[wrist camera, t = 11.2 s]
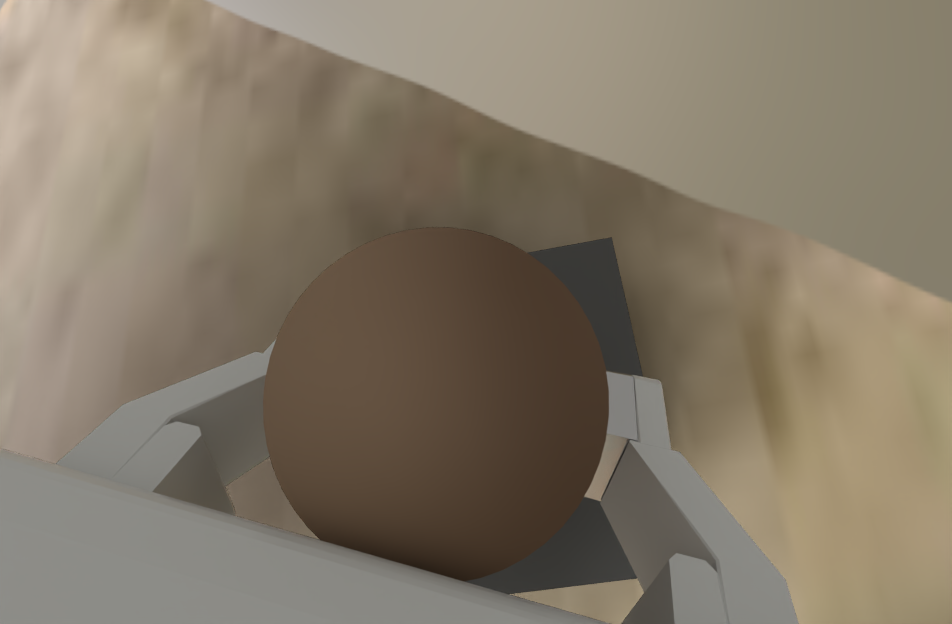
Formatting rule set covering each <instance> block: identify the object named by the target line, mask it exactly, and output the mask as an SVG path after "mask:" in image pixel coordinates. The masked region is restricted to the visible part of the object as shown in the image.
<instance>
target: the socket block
mask: <svg viewBox="0 0 952 624" xmlns="http://www.w3.org/2000/svg"><path fill="white" fill-rule="evenodd" d="M528 254H530V255H531V256H532V257H534V258H535V259H536V260H538V261H539V262H540V263H542V264H543V265H544V266H546V267H547V268H548V269H549V270H550V271H551V272H552V273H553V274H554V275H555V276H556V277H557V278H558V279H559V280H560V281H561V282H562V283H563V284H564V285H565V286H566V287H567V288H568V290H569V291H570V292H571V294H572V295H573V296H574V297H575V299H576V300H577V301H578V303H579V304H580V306H581V308H582V309H583V311H584V313H585V315H586V316H587V318H588V320H589V321H590V323H591V326H592V328H593V330H594V333H595V335H596V337H597V340H598V342H599V345H600V349H601V352H602V356H603V359H604V363H605V367H606V370H610V371H615V372H620V373H625V374H629V375H637V376H642V377H643V375H642V370H641V366H640V362H639V357H638V353H637V348H636V344H635V339H634V335H633V330H632V326H631V322H630V317H629V313H628V308H627V304H626V299H625V295H624V291H623V286H622V282H621V277H620V273H619V268H618V264H617V259H616V255H615V251H614V246H613V242H612V237H611V238H606V239H600V240H595V241H589V242H584V243H578V244H573V245H567V246H562V247H556V248H551V249H546V250H540V251H535V252H529V253H528ZM600 503H601V501H598V500H594V499H591V498H587V497H583V499H582V501H581V503H580V504H579V506H578V508H577V509H576V510H575V511H574V513H573V514H572V515H571V516H570V518H569V519H568V520H567V522H566V523H565V524H564V525H563V527H562V528H561V529H560V530H559V531H558V532H557V533H555V534H554V535H553V536H552V537H551V538H550V539H549V540H548V541H547V542H546V543H545V544H544V545H543V546H541V547H540V548H538V549H537V550H536V551H534V552H533V553H532V554H530V555H529V556H527V557H526V558H525V559H523V560H521V561H519V562H517V563H515V564H513V565H511V566H510V567H508V568H506V569H504V570H502V571H499V572H496V573H493V574H490V575H488V576H485V577H482V578H479V579H474V580H469V581H464V582H468V583H471V584H475V585H478V586H481V587H485V588H488V589H492V590H495V591H499V592H502V593H506V594H514V593H522V592H530V591H538V590H546V589H555V588H563V587H571V586H579V585H587V584H595V583H603V582H611V581H620V580H628V579H636V578H637V577H636V575H635V573H634V571H633V569H632V566H631V564H630V562H629V560H628V558H627V556H626V554H625V552H624V550H623V548H622V546H621V544H620V542H619V540H618V538H617V536H616V534H615V532H614V530H613V528H612V526H611V524H610V522H609V520H608V518H607V516H606V514H605V512H604V510H603V508H602V506H601V504H600Z"/></svg>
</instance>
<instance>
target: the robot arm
mask: <svg viewBox="0 0 952 624" xmlns="http://www.w3.org/2000/svg"><path fill="white" fill-rule="evenodd" d="M276 339H277V338H276ZM276 339H275V341H276ZM275 341H274V342H273V343H272V344H271V345H270V346H269V347H268V348H267V349H266V350H265V351H264V353H259V352H254V353H251V354H249V355H246V356H244V357H241V358H239V359H236V360H234V361H231V362H229V363H226V364H224V365H221V366H219V367H216V368H214V369H211V370H209V371H206V372H203V373H201V374H198V375H196V376H193V377H191V378H188V379H186V380H183V381H181V382H178V383H176V384H173V385H171V386H168V387H166V388H163V389H161V390H158V391H156V392H153V393H151V394H148V395H146V396H143V397H141V398H138V399H135V400H133V401H130V402H128V403H125V404H123V405H122V406H121V407H120V408H118V409H117V410H116V411H115V412H114V413H113V414H112V415H110V416H109V417H108V418H107V419H106V420H105V421H104V422H103V423H101V424H100V425H99V426H98V427H97V428H96V429H95V430H94V431H92V432H91V433H90V434H89V435H88V436H87V437H86V438H84V439H83V440H82V441H81V442H80V443H79V444H78V445H77V446H75V447H74V448H73V449H72V450H71V451H70V452H69V453H68V454H66V455H65V456H64V457H63V458H62V459H61V460H60V461H58V462H57V463H56V464H54V463H50V462H47V461H43V460H40V459H36V458H33V457H29V456H26V455H22V454H19V453H15V452H12V451H9V450H5V449H2V448H0V624H610V623H606V622H603V621H600V620H596V619H593V618H589V617H586V616H582V615H579V614H575V613H572V612H568V611H565V610H561V609H558V608H554V607H551V606H547V605H544V604H540V603H537V602H534V601H530V600H527V599H523V598H520V597H516V596H513V595H509V594H506V593H502V592H499V591H495V590H492V589H488V588H485V587H481V586H478V585H475V584H471V583H468V582H464V581H461V580H457V579H454V578H450V577H447V576H443V575H440V574H436V573H433V572H429V571H426V570H422V569H419V568H416V567H412V566H409V565H405V564H402V563H398V562H395V561H391V560H388V559H384V558H381V557H377V556H374V555H370V554H367V553H363V552H360V551H357V550H353V549H350V548H346V547H343V546H339V545H336V544H332V543H329V542H325V541H322V540H318V539H315V538H311V537H308V536H304V535H301V534H297V533H294V532H290V531H287V530H283V529H280V528H276V527H273V526H269V525H266V524H262V523H259V522H255V521H252V520H248V519H245V518H241V517H238V516H235V509H234V506H233V503H232V501H231V499H230V496H229V494H228V492H227V490H226V487H225V486H226V485H228V484H229V483H231V482H232V481H234V480H235V479H237V478H238V477H240V476H241V475H243V474H244V473H246V472H247V471H249V470H250V469H252V468H253V467H255V466H256V465H258V464H259V463H261V462H262V461H264V460H265V459H267V458H268V457H270V455H269V452H268V448H267V444H266V437H265V430H264V423H263V395H264V385H265V377H266V372H267V368H268V364H269V359H270V355H271V352H272V350H273V347H274V344H275ZM606 374H607V381H608V388H609V419H608V427H607V435H606V441H605V445H604V448H603V452H602V456H601V460H600V463H599V466H598V468H597V471H596V473H595V475H594V478H593V480H592V483H591V485H590V487H589V489H588V490H587V492H586V494H585V496H584V497H587V498H591V499H594V500H598V501H601V503H600V504H601V506H602V508H603V510H604V512H605V514H606V516H607V518H608V520H609V522H610V524H611V526H612V528H613V530H614V532H615V534H616V536H617V538H618V540H619V542H620V544H621V546H622V548H623V550H624V552H625V554H626V556H627V558H628V560H629V562H630V564H631V566H632V569H633V571H634V573H635V575H636V577H637V579H638V581H639V583H640V585H641V587H642V589H643V591H644V594H643V595H642V597H641V598H640V599H639V601H638V602H637V603H636V605H635V606H634V607H633V609H632V610H631V611H630V613H629V614H628V615H627V617H626V618H625V619H624V621H623V622H622V623H621V624H799V623H798V620H797V617H796V613H795V610H794V606H793V603H792V600H791V596H790V593H789V589H788V586H787V583H786V580H785V578H784V577H783V576H782V575H781V574H780V572H779V571H778V570H777V569H776V568H775V566H774V565H773V564H772V563H771V562H770V560H769V559H768V558H767V557H766V555H765V554H764V553H763V552H762V551H761V549H760V548H759V547H758V546H757V545H756V543H755V542H754V541H753V540H752V539H751V537H750V536H749V535H748V534H747V532H746V531H745V530H744V529H743V528H742V526H741V525H740V524H739V523H738V522H737V520H736V519H735V518H734V517H733V516H732V514H731V513H730V512H729V511H728V510H727V508H726V507H725V506H724V505H723V503H722V502H721V501H720V500H719V499H718V497H717V496H716V495H715V494H714V493H713V491H712V490H711V489H710V488H709V487H708V485H707V484H706V483H705V482H704V481H703V479H702V478H701V477H700V476H699V474H698V473H697V472H696V471H695V470H694V468H693V467H692V466H691V465H690V464H689V462H688V461H687V460H686V459H685V458H684V456H683V455H682V454H681V453H680V452H678V451H674V450H671V444H670V437H669V430H668V423H667V416H666V409H665V402H664V395H663V388H662V383H661V382H660V381H659V380H657V379H652V378H647V377H642V376H637V375H629V374H625V373H620V372H615V371H610V370H606Z"/></svg>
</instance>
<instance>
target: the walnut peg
mask: <svg viewBox="0 0 952 624" xmlns="http://www.w3.org/2000/svg"><path fill="white" fill-rule="evenodd" d="M608 419H609V388H608V381H607V374H606V367H605V363H604V359H603V356H602V352H601V349H600V345H599V342H598V340H597V337H596V335H595V333H594V330H593V328H592V326H591V323H590V321H589V320H588V318H587V316H586V315H585V313H584V311H583V309H582V308H581V306H580V304H579V303H578V301H577V300H576V299H575V297H574V296H573V295H572V294H571V292H570V291H569V290H568V288H567V287H566V286H565V285H564V284H563V283H562V282H561V281H560V280H559V279H558V278H557V277H556V276H555V275H554V274H553V273H552V272H551V271H550V270H549V269H548V268H547V267H546V266H544V265H543V264H542V263H540V262H539V261H538V260H536V259H535V258H534V257H532V256H531V255H530V254H528V253H526V252H524V251H523V250H521V249H519V248H517V247H516V246H514V245H512V244H510V243H507V242H505V241H503V240H500V239H498V238H495V237H493V236H490V235H486V234H482V233H479V232H475V231H471V230H464V229H456V228H434V227H427V228H420V229H412V230H405V231H401V232H397V233H393V234H389V235H386V236H383V237H381V238H378V239H375V240H373V241H370V242H368V243H365V244H364V245H362V246H360V247H358V248H356V249H354V250H353V251H351V252H349V253H347V254H346V255H344V256H343V257H342V258H340V259H339V260H337V261H336V262H335V263H333V264H332V265H330V266H329V267H328V268H327V269H326V270H325V271H324V272H323V273H322V274H320V275H319V276H318V277H317V278H316V279H315V280H314V281H313V282H312V283H311V284H310V286H309V287H308V288H307V289H306V290H305V292H304V293H303V294H302V295H301V296H300V297H299V299H298V300H297V302H296V303H295V305H294V307H293V308H292V310H291V311H290V313H289V314H288V316H287V318H286V320H285V322H284V324H283V326H282V328H281V330H280V332H279V334H278V336H277V339H276V341H275V344H274V347H273V350H272V352H271V355H270V359H269V364H268V368H267V372H266V377H265V385H264V395H263V423H264V430H265V437H266V444H267V448H268V452H269V455H270V459H271V463H272V466H273V469H274V471H275V474H276V476H277V479H278V481H279V483H280V486H281V488H282V490H283V492H284V493H285V495H286V497H287V499H288V500H289V502H290V504H291V506H292V507H293V509H294V510H295V511H296V513H297V514H298V515H299V517H300V518H301V519H302V521H303V522H304V523H305V524H306V526H307V527H308V528H309V529H310V530H311V531H312V532H313V533H314V534H315V535H316V536H317V537H318V538H319V539H320V540H322V541H325V542H329V543H332V544H336V545H339V546H343V547H346V548H350V549H353V550H357V551H360V552H363V553H367V554H370V555H374V556H377V557H381V558H384V559H388V560H391V561H395V562H398V563H402V564H405V565H409V566H412V567H416V568H419V569H422V570H426V571H429V572H433V573H436V574H440V575H443V576H447V577H450V578H454V579H457V580H461V581H469V580H474V579H479V578H482V577H485V576H488V575H490V574H493V573H496V572H499V571H502V570H504V569H506V568H508V567H510V566H511V565H513V564H515V563H517V562H519V561H521V560H523V559H525V558H526V557H527V556H529V555H530V554H532V553H533V552H534V551H536V550H537V549H538V548H540V547H541V546H543V545H544V544H545V543H546V542H547V541H548V540H549V539H550V538H551V537H552V536H553V535H554V534H555V533H557V532H558V531H559V530H560V529H561V528H562V527H563V525H564V524H565V523H566V522H567V520H568V519H569V518H570V516H571V515H572V514H573V513H574V511H575V510H576V509H577V508H578V506H579V504H580V503H581V501H582V499H583V497H584V496H585V494H586V492H587V490H588V489H589V487H590V485H591V483H592V480H593V478H594V475H595V473H596V471H597V468H598V466H599V463H600V460H601V456H602V452H603V448H604V445H605V441H606V435H607V427H608Z"/></svg>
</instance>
